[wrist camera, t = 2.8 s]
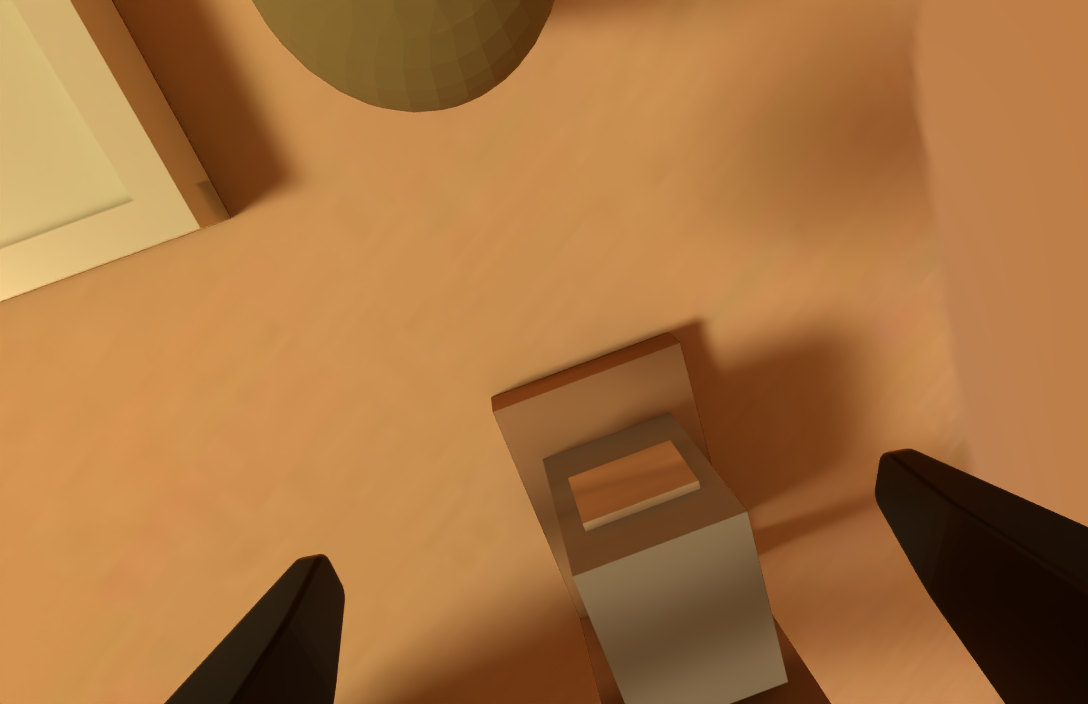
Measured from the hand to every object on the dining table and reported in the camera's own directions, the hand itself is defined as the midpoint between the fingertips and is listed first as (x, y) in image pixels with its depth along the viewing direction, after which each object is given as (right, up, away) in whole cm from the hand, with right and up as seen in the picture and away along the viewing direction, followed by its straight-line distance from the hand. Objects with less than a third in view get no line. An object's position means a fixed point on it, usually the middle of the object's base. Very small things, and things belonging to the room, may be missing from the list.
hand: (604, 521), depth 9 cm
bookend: (+2, -3, +14) cm, 14 cm away
